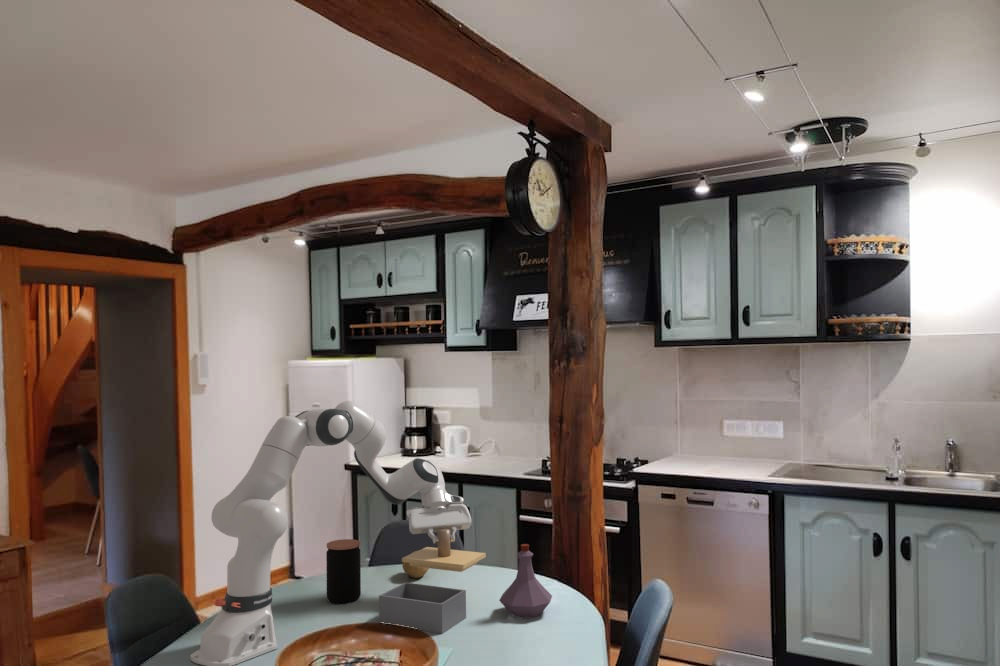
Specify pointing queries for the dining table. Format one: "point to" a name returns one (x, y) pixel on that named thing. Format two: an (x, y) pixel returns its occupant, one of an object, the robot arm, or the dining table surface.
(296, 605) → the dining table surface
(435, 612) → the tub
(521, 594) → the flask
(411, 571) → the potato
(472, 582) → the dining table surface
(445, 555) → the lid
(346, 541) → the coffee jar
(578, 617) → the dining table surface
